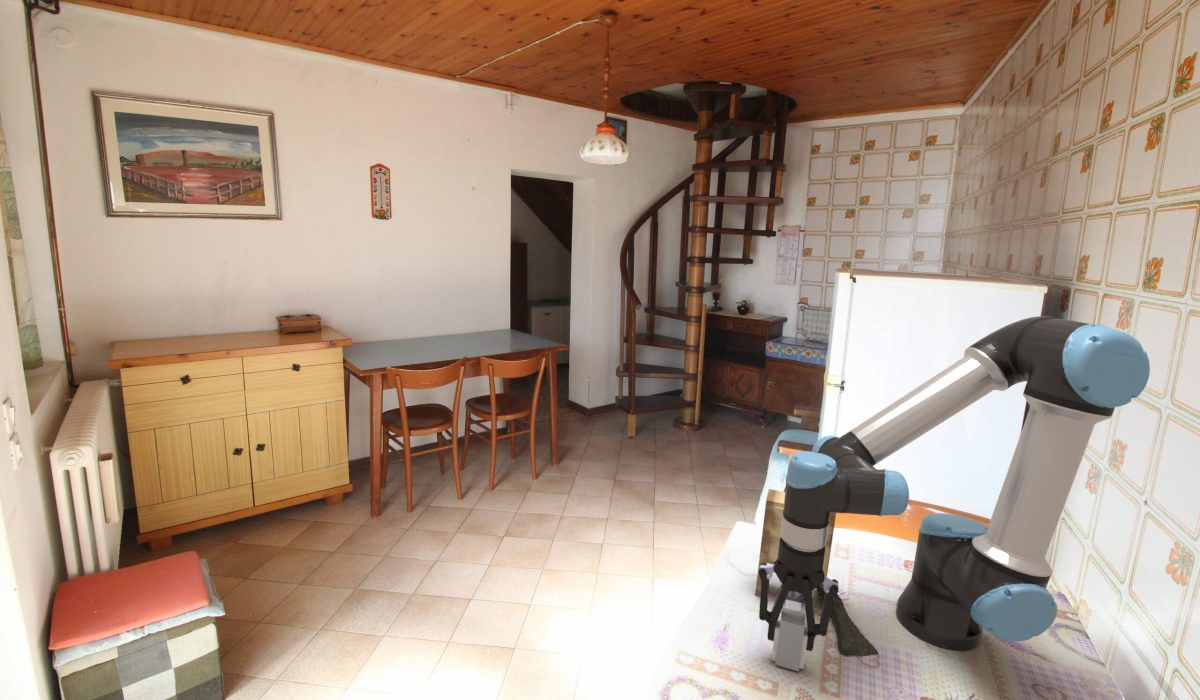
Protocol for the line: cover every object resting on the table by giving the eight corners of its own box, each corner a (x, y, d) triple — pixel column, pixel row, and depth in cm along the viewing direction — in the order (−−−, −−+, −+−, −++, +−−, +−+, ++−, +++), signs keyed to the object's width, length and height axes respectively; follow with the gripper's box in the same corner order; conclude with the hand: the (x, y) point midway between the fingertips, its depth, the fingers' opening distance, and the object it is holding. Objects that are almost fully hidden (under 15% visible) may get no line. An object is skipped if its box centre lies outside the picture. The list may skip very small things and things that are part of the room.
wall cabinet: (821, 596, 125) (835, 501, 120) (821, 615, 118) (836, 516, 114) (757, 580, 129) (768, 488, 125) (754, 598, 123) (765, 502, 118)
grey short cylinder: (804, 593, 126) (806, 581, 125) (803, 607, 121) (805, 594, 120) (781, 587, 127) (782, 575, 127) (779, 600, 123) (780, 587, 122)
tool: (879, 664, 108) (884, 651, 107) (840, 661, 107) (844, 648, 106) (832, 586, 127) (835, 575, 127) (798, 584, 127) (801, 572, 126)
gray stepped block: (802, 614, 117) (807, 574, 116) (798, 671, 102) (804, 626, 100) (781, 609, 119) (786, 569, 117) (775, 664, 103) (780, 620, 101)
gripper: (855, 542, 100) (838, 659, 105) (754, 521, 106) (742, 633, 111) (857, 564, 93) (839, 689, 98) (749, 540, 99) (736, 659, 104)
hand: (787, 659), depth 104 cm, fingers closed on gray stepped block, 4 cm apart
